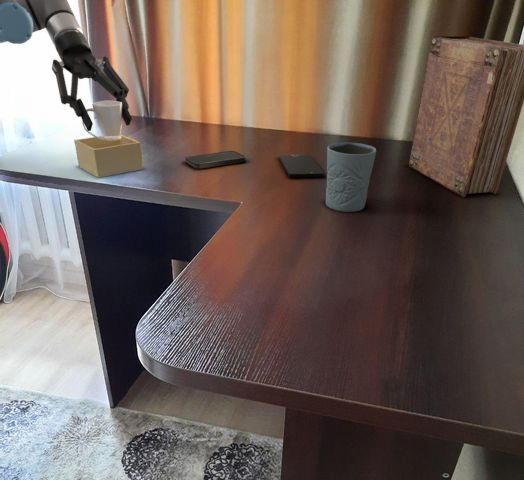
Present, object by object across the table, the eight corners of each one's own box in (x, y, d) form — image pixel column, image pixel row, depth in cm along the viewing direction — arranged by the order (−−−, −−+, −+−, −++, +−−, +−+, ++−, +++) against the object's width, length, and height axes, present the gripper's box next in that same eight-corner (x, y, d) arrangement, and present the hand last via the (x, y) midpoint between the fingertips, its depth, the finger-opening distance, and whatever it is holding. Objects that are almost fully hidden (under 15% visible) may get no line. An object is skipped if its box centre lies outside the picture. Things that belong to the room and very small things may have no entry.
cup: (129, 140, 124) (125, 104, 119) (88, 144, 121) (81, 107, 116) (123, 133, 129) (118, 99, 125) (83, 137, 126) (76, 102, 121)
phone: (247, 157, 136) (196, 164, 129) (247, 161, 136) (196, 169, 130) (233, 150, 141) (183, 156, 134) (233, 154, 142) (184, 161, 135)
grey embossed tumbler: (329, 213, 107) (336, 155, 100) (316, 197, 115) (321, 142, 108) (375, 211, 108) (384, 153, 101) (358, 195, 116) (366, 140, 109)
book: (497, 194, 119) (540, 47, 102) (463, 197, 117) (502, 47, 99) (437, 164, 139) (466, 36, 121) (407, 166, 137) (432, 36, 119)
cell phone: (309, 157, 141) (309, 153, 140) (324, 177, 126) (324, 173, 126) (278, 157, 140) (278, 154, 139) (289, 177, 125) (289, 174, 125)
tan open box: (98, 177, 122) (93, 149, 119) (78, 166, 129) (73, 139, 126) (143, 169, 129) (140, 142, 125) (122, 159, 136) (118, 133, 132)
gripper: (108, 50, 130) (146, 128, 130) (21, 55, 119) (63, 140, 118) (115, 27, 124) (155, 109, 124) (24, 30, 112) (67, 120, 112)
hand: (110, 124), depth 121 cm, fingers closed on cup, 9 cm apart
